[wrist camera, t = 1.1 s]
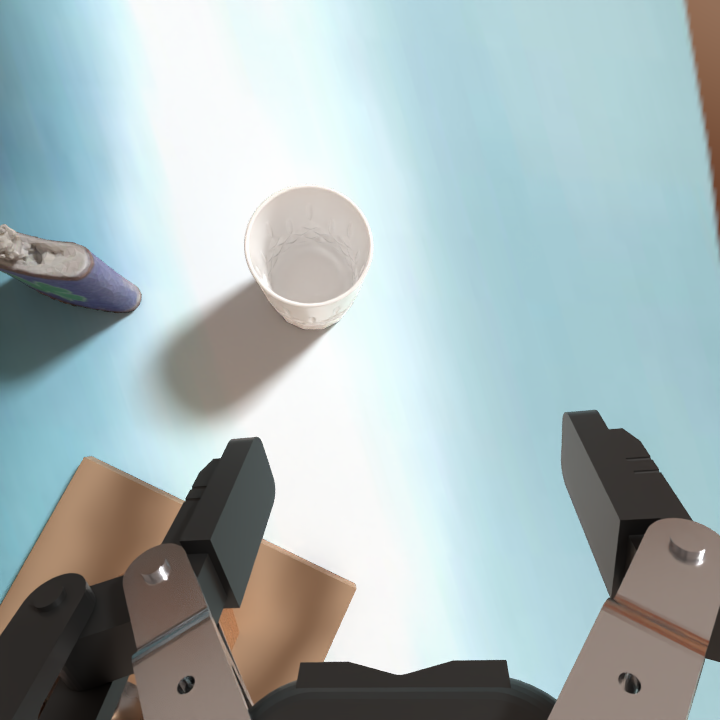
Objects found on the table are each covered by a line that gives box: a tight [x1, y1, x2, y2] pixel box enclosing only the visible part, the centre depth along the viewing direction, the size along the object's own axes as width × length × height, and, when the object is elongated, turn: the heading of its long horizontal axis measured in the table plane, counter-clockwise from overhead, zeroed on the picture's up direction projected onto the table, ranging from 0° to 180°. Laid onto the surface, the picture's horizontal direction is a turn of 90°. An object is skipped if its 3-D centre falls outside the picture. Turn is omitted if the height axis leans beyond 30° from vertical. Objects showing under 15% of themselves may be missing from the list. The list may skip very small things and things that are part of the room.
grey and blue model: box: [0, 224, 142, 313], centre depth 34 cm, size 9×3×11 cm, turn 75°
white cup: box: [244, 185, 373, 329], centre depth 35 cm, size 8×8×10 cm
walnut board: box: [0, 456, 356, 704], centre depth 35 cm, size 22×16×1 cm
